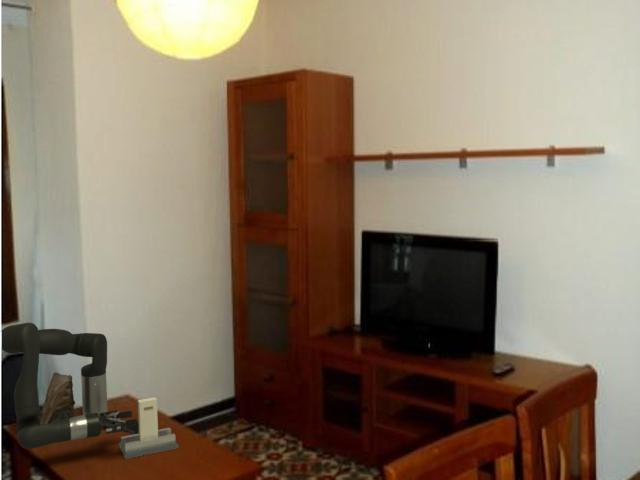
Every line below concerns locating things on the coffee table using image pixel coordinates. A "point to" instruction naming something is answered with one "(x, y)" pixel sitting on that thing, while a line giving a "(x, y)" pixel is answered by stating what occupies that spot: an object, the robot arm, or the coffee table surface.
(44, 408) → the owl
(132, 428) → the phone
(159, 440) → the floor track
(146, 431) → the door leaf
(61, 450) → the coffee table surface
